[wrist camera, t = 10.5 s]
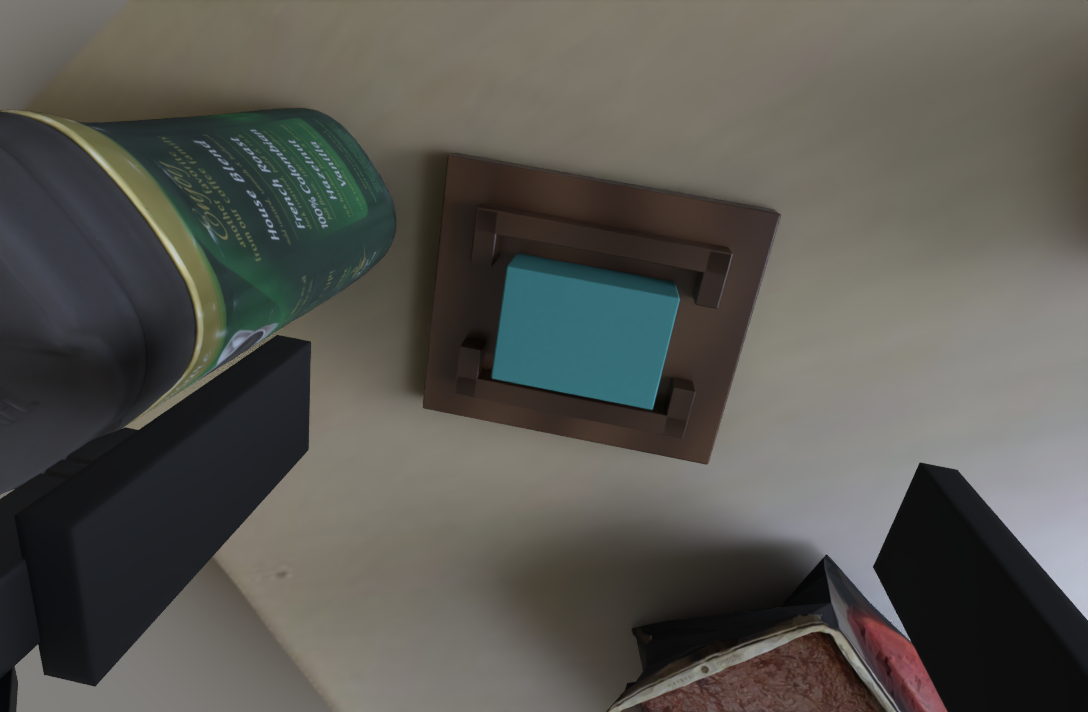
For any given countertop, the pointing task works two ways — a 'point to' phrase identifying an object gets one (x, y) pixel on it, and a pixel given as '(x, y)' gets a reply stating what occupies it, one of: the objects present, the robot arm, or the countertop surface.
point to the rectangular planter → (783, 658)
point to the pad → (584, 330)
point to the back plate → (603, 242)
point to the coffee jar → (162, 258)
